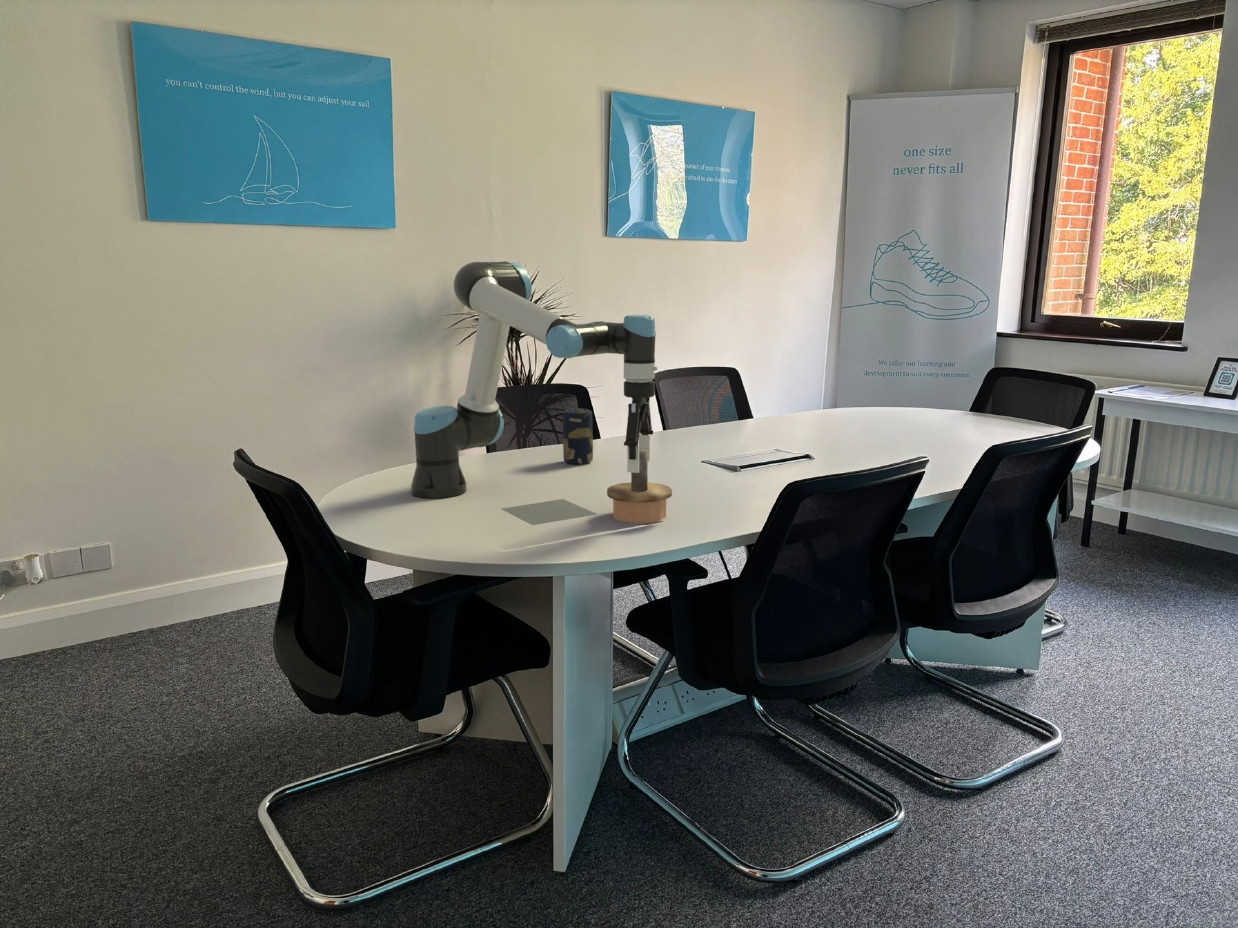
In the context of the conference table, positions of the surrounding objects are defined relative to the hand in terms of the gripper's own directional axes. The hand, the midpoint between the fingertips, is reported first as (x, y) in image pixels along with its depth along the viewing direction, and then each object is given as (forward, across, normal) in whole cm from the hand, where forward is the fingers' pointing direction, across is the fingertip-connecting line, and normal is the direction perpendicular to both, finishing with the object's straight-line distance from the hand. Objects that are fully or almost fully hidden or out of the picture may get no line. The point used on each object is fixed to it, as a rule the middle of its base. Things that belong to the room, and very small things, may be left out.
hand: (638, 466), depth 221 cm
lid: (+7, 0, 0) cm, 7 cm away
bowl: (+13, 0, 0) cm, 13 cm away
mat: (+13, -1, +23) cm, 27 cm away
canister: (+14, +61, +32) cm, 70 cm away
